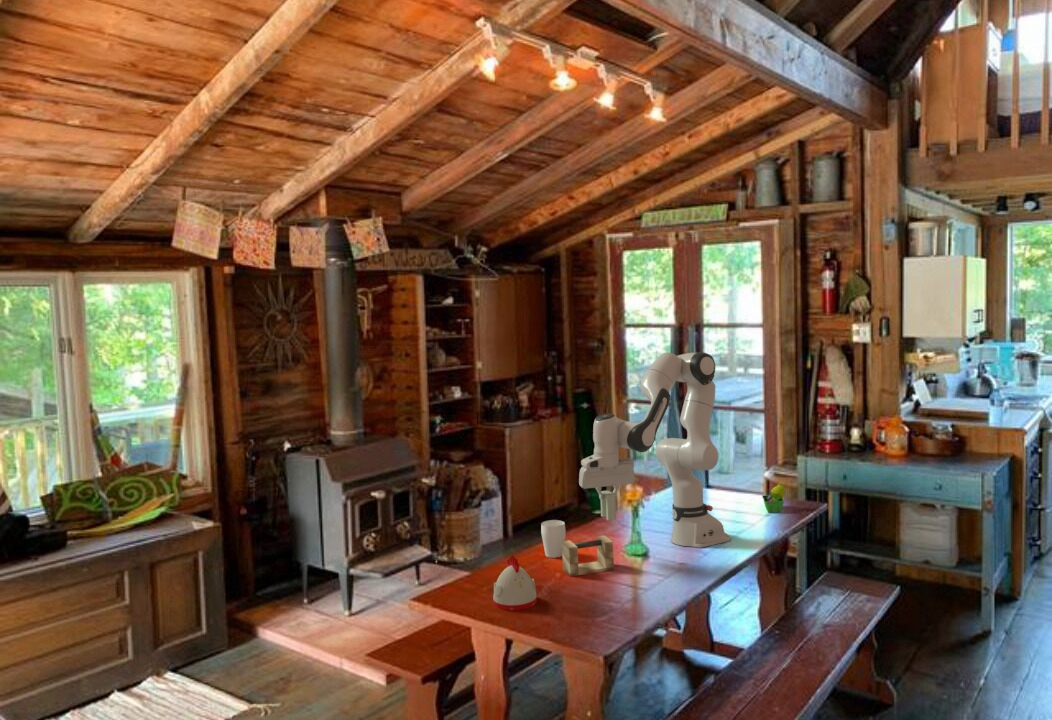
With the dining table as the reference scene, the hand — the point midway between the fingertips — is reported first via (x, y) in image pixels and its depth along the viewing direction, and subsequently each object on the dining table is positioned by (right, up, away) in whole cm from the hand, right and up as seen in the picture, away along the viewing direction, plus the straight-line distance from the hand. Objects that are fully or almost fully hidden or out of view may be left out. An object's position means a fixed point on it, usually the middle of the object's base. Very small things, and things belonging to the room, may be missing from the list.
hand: (607, 498), depth 305 cm
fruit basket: (+76, -14, +55) cm, 95 cm away
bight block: (0, -7, +1) cm, 7 cm away
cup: (-19, -23, +11) cm, 32 cm away
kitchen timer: (-33, -28, -33) cm, 54 cm away
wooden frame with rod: (-7, -24, -7) cm, 26 cm away
